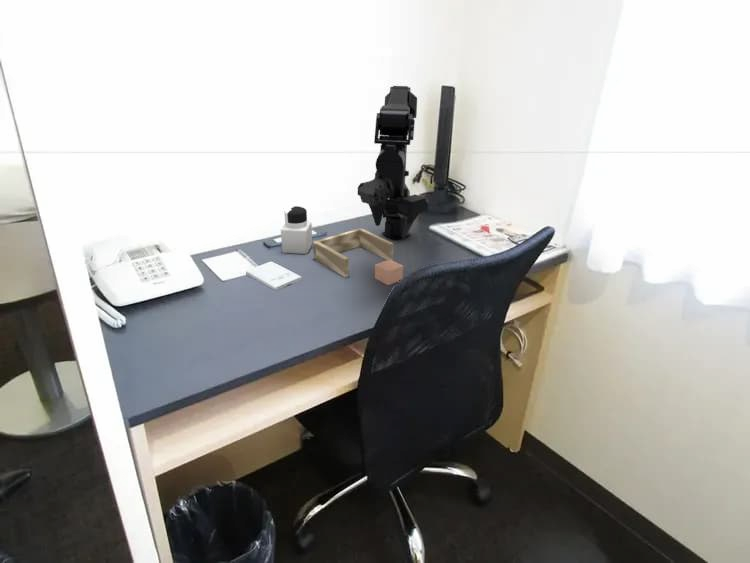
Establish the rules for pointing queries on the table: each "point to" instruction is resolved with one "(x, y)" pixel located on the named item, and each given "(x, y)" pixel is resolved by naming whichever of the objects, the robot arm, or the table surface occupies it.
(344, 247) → the open wooden frame
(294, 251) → the medicine bottle
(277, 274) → the external hard drive
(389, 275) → the terracotta block
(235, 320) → the table surface
